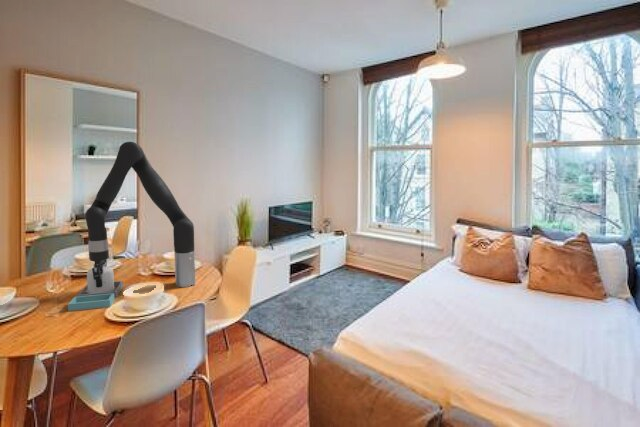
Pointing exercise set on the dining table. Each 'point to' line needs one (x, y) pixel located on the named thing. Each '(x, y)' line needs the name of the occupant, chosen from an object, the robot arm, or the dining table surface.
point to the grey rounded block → (106, 281)
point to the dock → (91, 302)
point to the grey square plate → (117, 284)
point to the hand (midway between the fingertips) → (101, 284)
